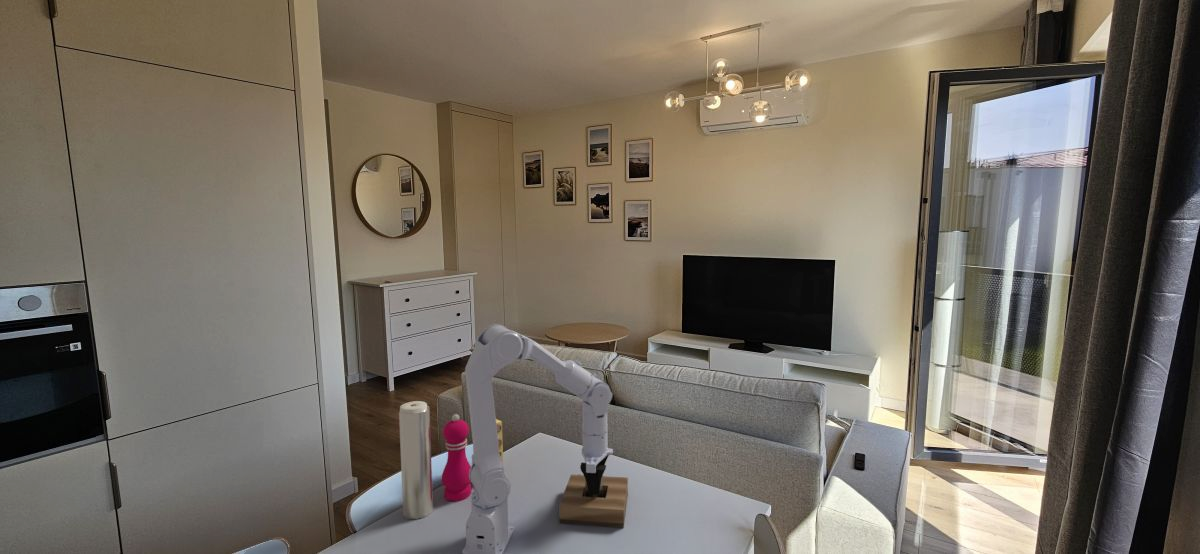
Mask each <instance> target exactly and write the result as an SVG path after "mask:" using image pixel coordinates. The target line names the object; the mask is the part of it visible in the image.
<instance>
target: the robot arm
mask: <svg viewBox="0 0 1200 554" xmlns="http://www.w3.org/2000/svg"><path fill="white" fill-rule="evenodd" d="M517 359H519V360H521V361H524V360H529V359H530V360H532V361H534V362H535V363H536V364H538V365H540V366H542V367H543V368H545V369H547V370H548V371H550V372H551V373H553V374H554V377H555V381H556V383H557V384H558V385H559V386H562V387H563V388H565V389H566V390H567V391H569V392H571V393H573V394H574V395H576V396H577V397H578V398H579V399H580V400H582V401H581V403H582V404H581V406H582V411H581V412H582V417H581V418H582V421H581V423H582V428H581V429H582V430H581V431H582V433H581V434H582V448H581V455H582V457H583V459H584V462H581V463H580V471H581V473H582V475H584V477H585V479H586V483H587V487H588V491H589V494H590V495H598V494H599V490H600V484H601V478H602V477H603V476H604V473H605V471H606V469H607V465H605V464H606V462H607V460H608V457H609V456H612V455H613V452H614V449H613V448H609V447H608V440H609V439H608V430H609V429H608V426H609V425H608V424H609V423H608V411H609V405H610V403H611V401H612V400H613V392H612V391H611V388H610V385H609V384H608V383H606V382H604V381H603V380H601V379H599V378H597V374H596V373H595V372H593V371H591V372H589V371H588V370H586V369H585V368H583V363H582V362H580V361H579V360H577V359H575V360H574V361H573V360H572V359H567V360H564V361H562V360H561V359H559V358H558V357H557V356H556V355H554V354H553V353H552V352H551V351H549V350H547V349H546V348H545V347H543V346H542V345H541V344H539V343H538V342H536V341H535V340H533V339H531V338H530V337H527V336H525V335H523V334H521V333H519V332H517V331H514V330H513V329H508V328H507V327H506V326H505V325H502V324H499V323H494V324H491V325H489V326H487V327H486V328H485V329H484V330H483V331H482V332H480V334H478V336H477V337H476V340H475V345H474V347H473V350H472V352H471V354H470V356H469V358H468V360H467V363H466V365H465V368H464V375H465V383H466V392H467V401H468V409H469V420H470V429H471V438H472V447H473V448H472V450H473V449H474V454H473V453H472V455H471V465H470V466H471V468H470V471H469V479H470V481H471V482H470V484H471V485H472V486H473V487H474V488H473V490H472V492H471V495H470V496H471V497H470V498H471V501H470V502H471V511H470V514H469V516H468V518H467V520H466V523H465V542H466V543H465V546H464V547H463V549H462V551H461V554H503V553H504V551H505V549H506V547H507V545H508V544H509V542H510V540H511V537H512V535H513V533H514V531H515V529H516V528H515V526H514V525H509V511H508V510H509V509H508V497H509V495H510V493H511V482H510V480H509V478H508V477H507V475H506V474H505V467H504V462H503V463H502V460H501V457H500V453H499V445H498V435H497V425H496V419H497V417H496V416H497V415H496V407H495V399H494V388H493V387H494V386H493V377H495V376H496V375H497V373H498V372H499V371H500V370H502V369H503V368H504V367H507V366H508V365H510V364H511V363H513V362H514V361H516V360H517Z"/></svg>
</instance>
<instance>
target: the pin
mask: <svg viewBox="0 0 1200 554" xmlns="http://www.w3.org/2000/svg"><path fill="white" fill-rule="evenodd" d="M585 492H586V497H598V498H603V482H602V478H601V484H600V490H599V494H598V495H590V494H589V491H588V487H587V483H586V479H585Z"/></svg>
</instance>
